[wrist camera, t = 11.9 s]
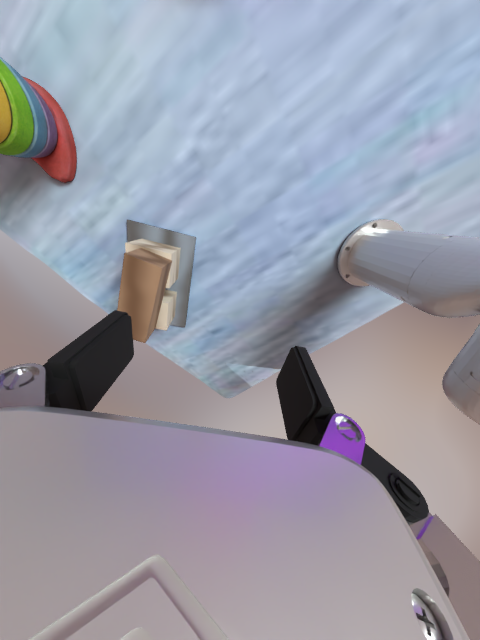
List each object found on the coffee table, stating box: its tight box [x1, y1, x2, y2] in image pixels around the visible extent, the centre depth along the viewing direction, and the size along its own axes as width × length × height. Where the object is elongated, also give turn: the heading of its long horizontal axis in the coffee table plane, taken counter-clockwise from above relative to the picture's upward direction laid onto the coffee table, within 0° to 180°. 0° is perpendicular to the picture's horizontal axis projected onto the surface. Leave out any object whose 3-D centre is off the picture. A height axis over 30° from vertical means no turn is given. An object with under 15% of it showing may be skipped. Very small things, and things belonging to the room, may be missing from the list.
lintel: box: [117, 248, 172, 343], centre depth 31 cm, size 5×14×5 cm, turn 157°
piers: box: [125, 220, 196, 330], centre depth 36 cm, size 12×20×7 cm, turn 166°
